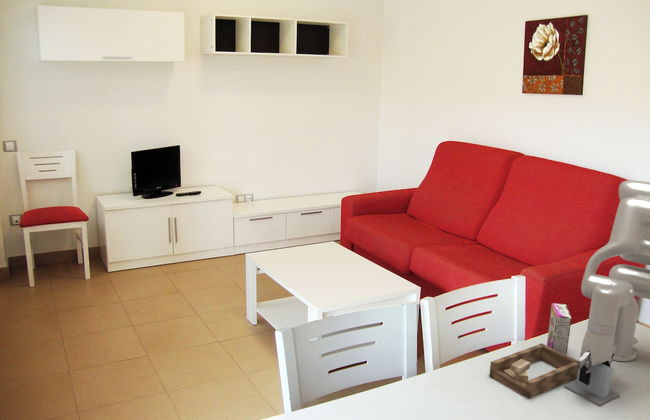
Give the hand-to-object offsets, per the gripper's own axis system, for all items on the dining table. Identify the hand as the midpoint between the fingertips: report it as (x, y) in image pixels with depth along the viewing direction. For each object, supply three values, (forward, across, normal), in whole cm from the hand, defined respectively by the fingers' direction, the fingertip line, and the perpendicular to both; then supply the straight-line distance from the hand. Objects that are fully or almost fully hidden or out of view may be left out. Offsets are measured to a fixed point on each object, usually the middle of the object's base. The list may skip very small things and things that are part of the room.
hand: (593, 378), depth 186 cm
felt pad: (+4, 0, 0) cm, 5 cm away
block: (+4, 0, 0) cm, 4 cm away
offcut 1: (0, +15, -15) cm, 21 cm away
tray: (+4, +8, -15) cm, 17 cm away
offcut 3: (+5, +16, -15) cm, 22 cm away
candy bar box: (+5, -11, -21) cm, 24 cm away
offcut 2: (+2, +15, -15) cm, 21 cm away
